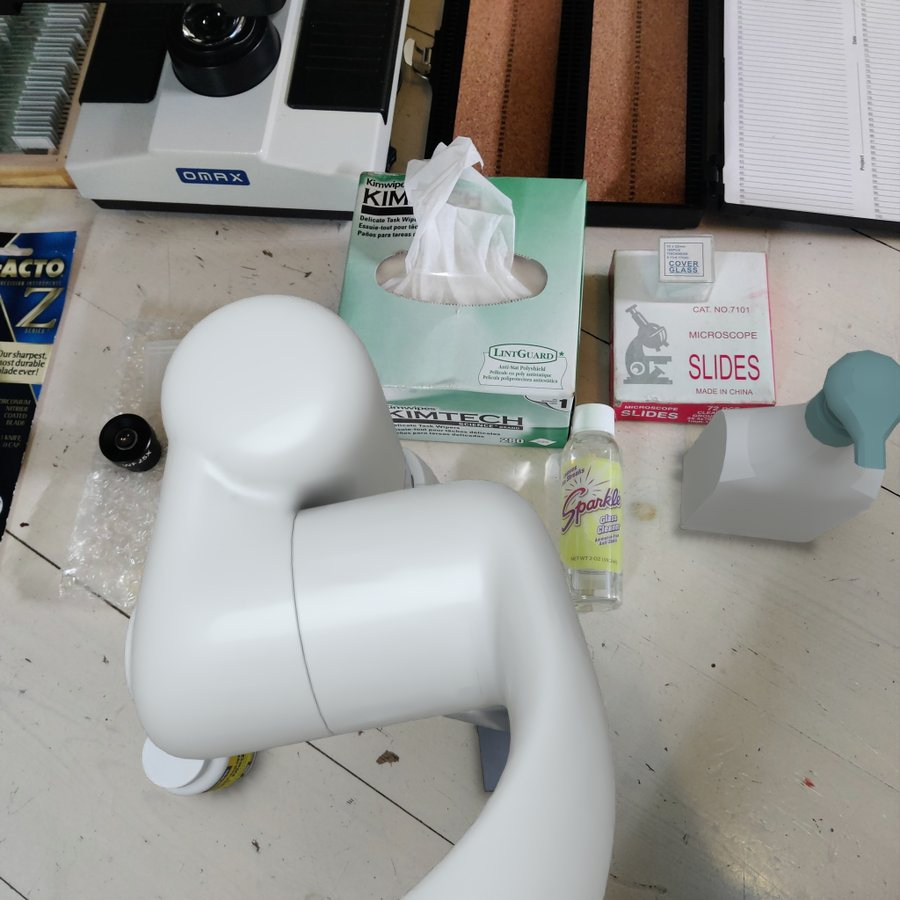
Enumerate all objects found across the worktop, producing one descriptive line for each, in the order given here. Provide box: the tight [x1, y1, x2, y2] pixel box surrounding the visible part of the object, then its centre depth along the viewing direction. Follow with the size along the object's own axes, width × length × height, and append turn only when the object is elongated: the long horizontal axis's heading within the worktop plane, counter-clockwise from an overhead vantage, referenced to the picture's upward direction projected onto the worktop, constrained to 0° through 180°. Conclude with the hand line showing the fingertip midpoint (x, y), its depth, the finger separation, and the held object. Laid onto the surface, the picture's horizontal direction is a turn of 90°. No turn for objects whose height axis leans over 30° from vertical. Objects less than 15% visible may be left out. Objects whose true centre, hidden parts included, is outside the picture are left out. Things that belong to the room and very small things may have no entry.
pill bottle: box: [141, 736, 257, 797], centre depth 63 cm, size 6×6×11 cm
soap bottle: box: [679, 349, 900, 544], centre depth 59 cm, size 11×8×27 cm
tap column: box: [476, 705, 511, 793], centre depth 58 cm, size 9×9×19 cm
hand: (383, 565), depth 55 cm, fingers closed
